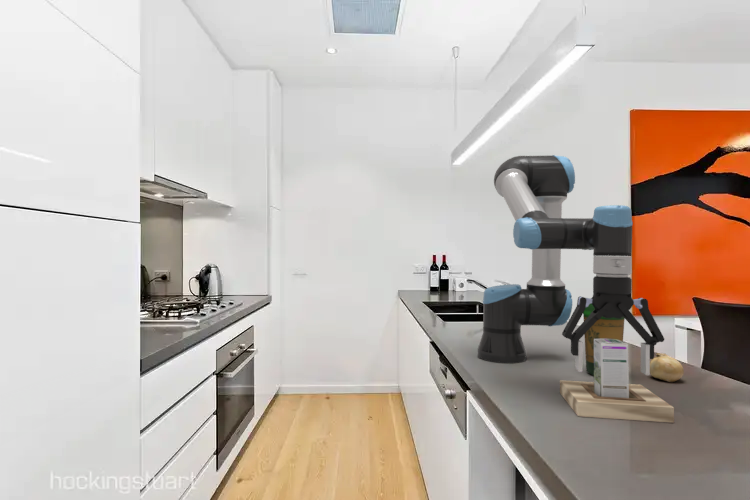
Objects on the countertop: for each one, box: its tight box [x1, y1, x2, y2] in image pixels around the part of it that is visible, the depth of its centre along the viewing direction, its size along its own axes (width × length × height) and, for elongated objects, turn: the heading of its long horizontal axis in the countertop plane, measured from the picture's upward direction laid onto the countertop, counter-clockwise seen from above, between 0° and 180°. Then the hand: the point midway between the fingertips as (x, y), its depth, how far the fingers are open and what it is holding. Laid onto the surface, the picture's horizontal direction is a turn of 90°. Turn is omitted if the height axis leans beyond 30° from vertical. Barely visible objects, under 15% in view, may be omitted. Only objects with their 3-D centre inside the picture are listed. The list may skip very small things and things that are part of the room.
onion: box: [650, 352, 685, 383], centre depth 121 cm, size 8×8×7 cm
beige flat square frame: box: [559, 379, 675, 424], centre depth 99 cm, size 16×18×3 cm
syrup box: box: [593, 338, 630, 398], centre depth 99 cm, size 6×6×14 cm
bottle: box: [582, 297, 626, 376], centre depth 126 cm, size 11×11×28 cm
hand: (611, 372), depth 99 cm, fingers open, 13 cm apart
